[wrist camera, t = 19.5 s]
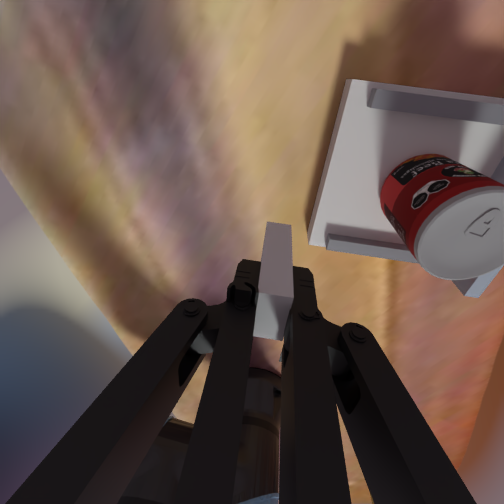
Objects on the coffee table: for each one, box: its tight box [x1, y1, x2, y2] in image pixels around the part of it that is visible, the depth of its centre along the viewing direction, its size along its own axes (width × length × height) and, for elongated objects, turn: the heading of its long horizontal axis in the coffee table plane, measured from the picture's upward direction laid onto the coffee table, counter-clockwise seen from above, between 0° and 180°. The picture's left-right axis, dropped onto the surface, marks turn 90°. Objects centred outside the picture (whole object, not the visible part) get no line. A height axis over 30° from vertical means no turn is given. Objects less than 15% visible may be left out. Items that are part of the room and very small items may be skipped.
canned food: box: [380, 154, 504, 280], centre depth 25 cm, size 8×8×11 cm
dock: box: [307, 79, 504, 298], centre depth 28 cm, size 18×18×9 cm
